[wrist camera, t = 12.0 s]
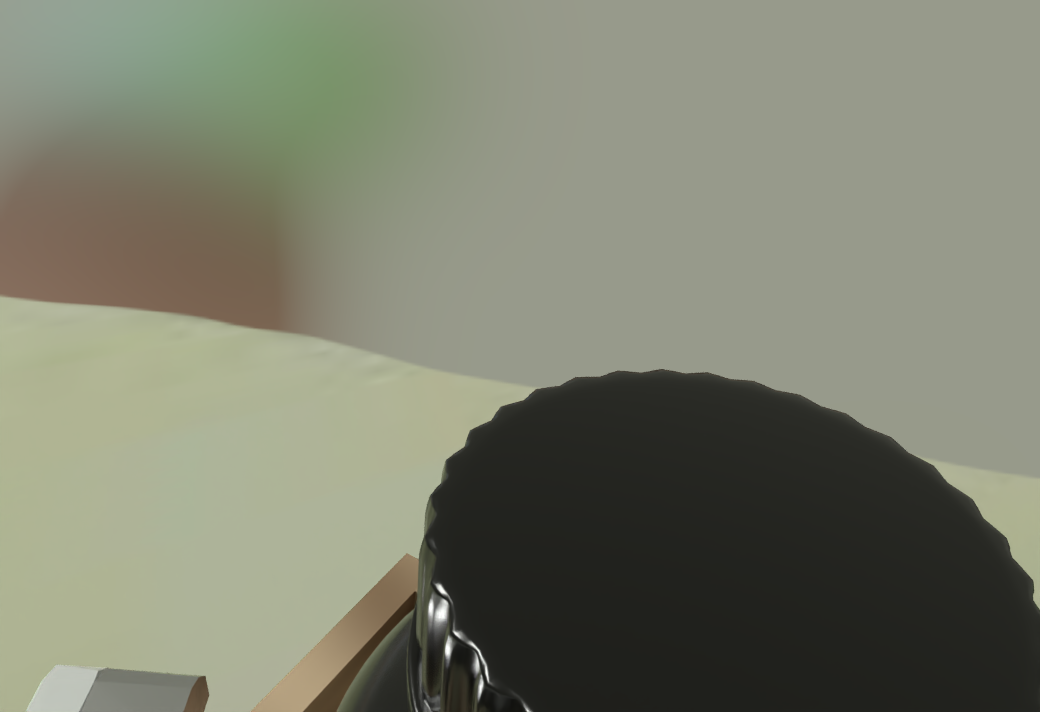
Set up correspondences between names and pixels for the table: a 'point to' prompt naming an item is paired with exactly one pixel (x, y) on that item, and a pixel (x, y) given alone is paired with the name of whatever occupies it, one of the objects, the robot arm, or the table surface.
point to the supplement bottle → (702, 566)
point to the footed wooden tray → (346, 646)
